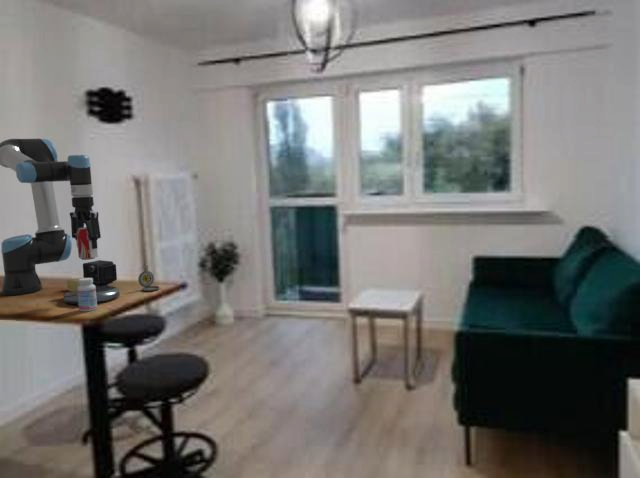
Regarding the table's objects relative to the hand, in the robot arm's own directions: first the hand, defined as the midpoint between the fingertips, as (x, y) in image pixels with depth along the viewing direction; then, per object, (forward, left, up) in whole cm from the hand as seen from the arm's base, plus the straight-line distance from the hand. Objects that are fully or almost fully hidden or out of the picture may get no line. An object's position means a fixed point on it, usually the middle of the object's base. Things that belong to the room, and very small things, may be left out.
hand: (88, 256), depth 214 cm
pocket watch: (+9, +21, -17) cm, 29 cm away
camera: (-17, +18, -17) cm, 30 cm away
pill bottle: (+12, -11, -17) cm, 24 cm away
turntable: (-2, 0, -16) cm, 16 cm away
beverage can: (0, 0, -1) cm, 1 cm away
